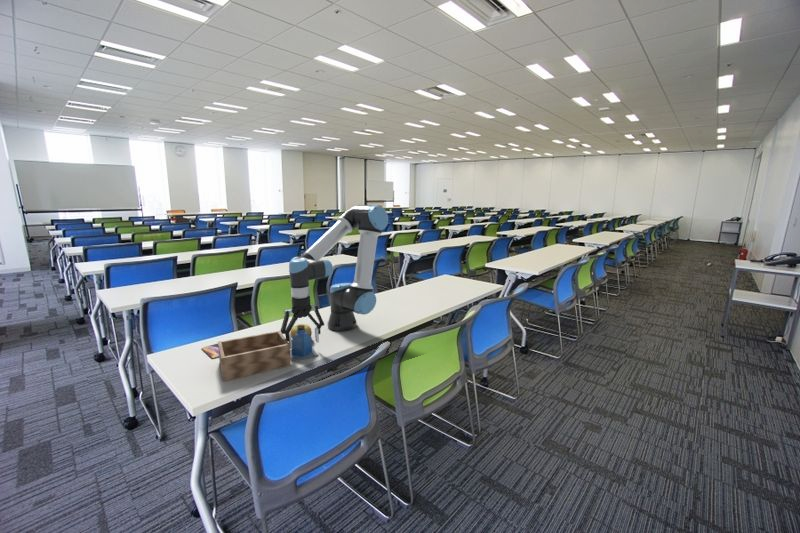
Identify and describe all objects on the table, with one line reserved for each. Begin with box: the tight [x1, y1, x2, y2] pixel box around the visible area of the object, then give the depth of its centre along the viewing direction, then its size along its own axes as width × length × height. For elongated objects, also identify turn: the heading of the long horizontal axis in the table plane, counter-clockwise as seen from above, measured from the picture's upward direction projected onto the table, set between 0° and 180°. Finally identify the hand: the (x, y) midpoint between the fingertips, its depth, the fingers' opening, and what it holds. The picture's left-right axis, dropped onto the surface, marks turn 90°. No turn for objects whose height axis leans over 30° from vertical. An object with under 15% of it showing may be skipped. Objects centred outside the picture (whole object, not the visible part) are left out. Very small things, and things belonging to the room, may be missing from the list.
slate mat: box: [290, 347, 319, 363], centre depth 148 cm, size 11×11×1 cm
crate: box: [217, 330, 292, 382], centre depth 138 cm, size 24×17×9 cm
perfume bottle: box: [291, 325, 313, 357], centre depth 147 cm, size 6×6×12 cm
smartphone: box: [200, 343, 219, 360], centre depth 150 cm, size 8×1×15 cm
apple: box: [290, 323, 313, 339], centre depth 162 cm, size 10×10×8 cm
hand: (304, 344), depth 148 cm, fingers open, 11 cm apart
